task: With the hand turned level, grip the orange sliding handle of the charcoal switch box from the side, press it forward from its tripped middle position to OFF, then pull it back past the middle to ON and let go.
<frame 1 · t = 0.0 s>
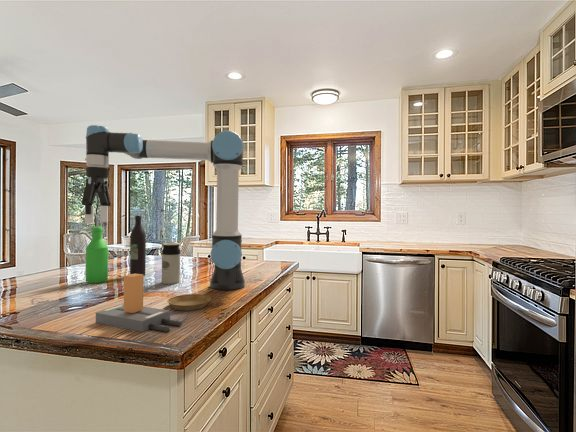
hand: (97, 222, 132), 28 cm above the counter, tool pointing down, fingers open, 13 cm apart
breaker handle: (133, 292, 103), point 9 cm above the counter, slide at 0.0 cm
plant saucer: (189, 307, 121), on the counter
bottle: (96, 282, 156), on the counter
switch box: (133, 321, 103), on the counter
wine bottle: (137, 276, 171), on the counter
travel mug: (170, 282, 158), on the counter
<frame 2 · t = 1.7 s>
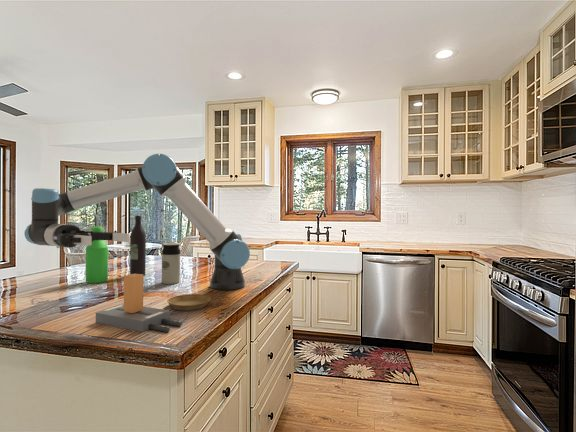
hand: (110, 239, 107), 24 cm above the counter, tool horizontal, fingers open, 13 cm apart
nothing on the counter moved.
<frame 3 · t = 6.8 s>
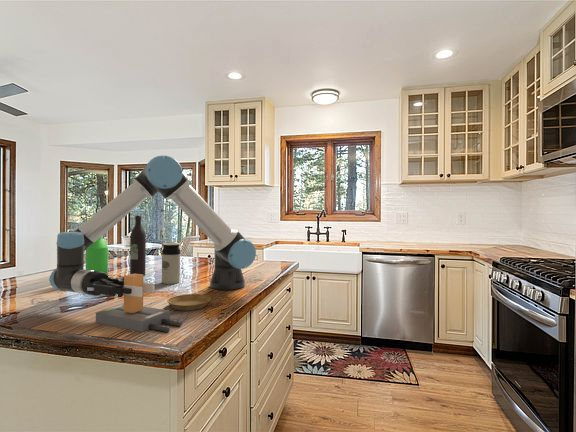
hand: (147, 290, 101), 10 cm above the counter, tool horizontal, fingers closed on breaker handle, 4 cm apart
breaker handle: (133, 292, 103), point 9 cm above the counter, slide at 0.0 cm, touching gripper
everything else where it was.
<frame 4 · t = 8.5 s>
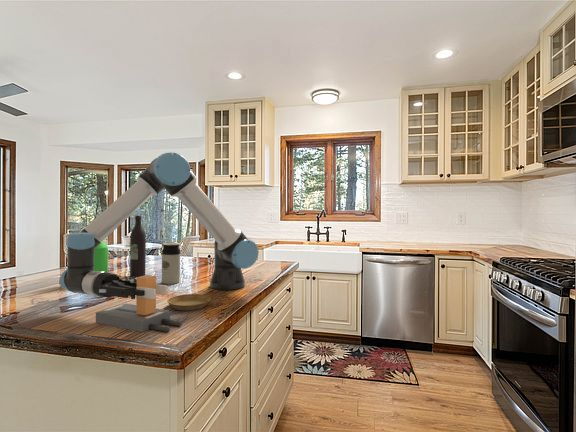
hand: (160, 292, 99), 10 cm above the counter, tool horizontal, fingers closed on breaker handle, 4 cm apart
breaker handle: (146, 294, 101), point 9 cm above the counter, slide at 4.9 cm, touching gripper
everything else where it was.
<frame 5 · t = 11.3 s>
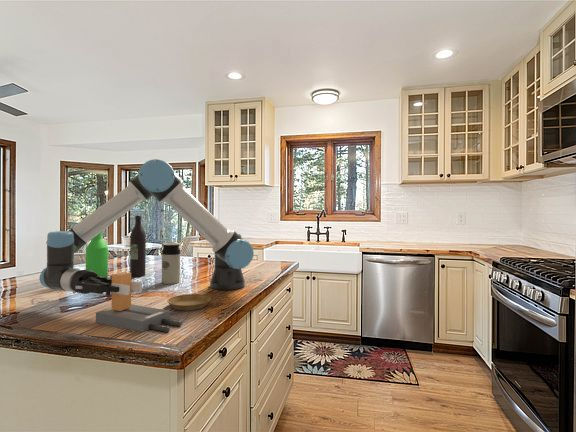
hand: (134, 288, 103), 10 cm above the counter, tool horizontal, fingers closed on breaker handle, 4 cm apart
breaker handle: (121, 291, 105), point 9 cm above the counter, slide at -4.9 cm, touching gripper
everything else where it was.
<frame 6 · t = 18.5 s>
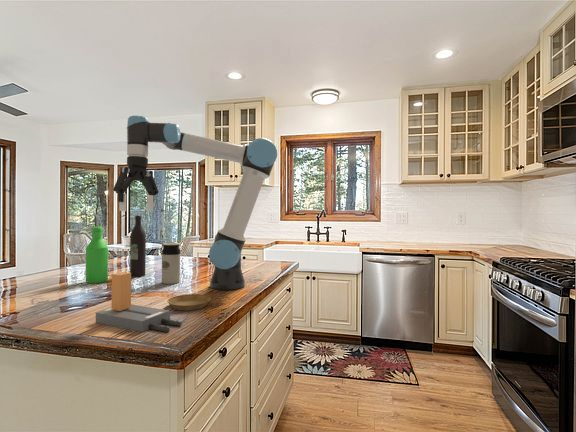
hand: (137, 211, 135), 33 cm above the counter, tool pointing down, fingers open, 13 cm apart
breaker handle: (121, 291, 105), point 9 cm above the counter, slide at -5.0 cm
everything else where it was.
at the end: breaker handle slide at -5.0 cm; the gripper is holding nothing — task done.
